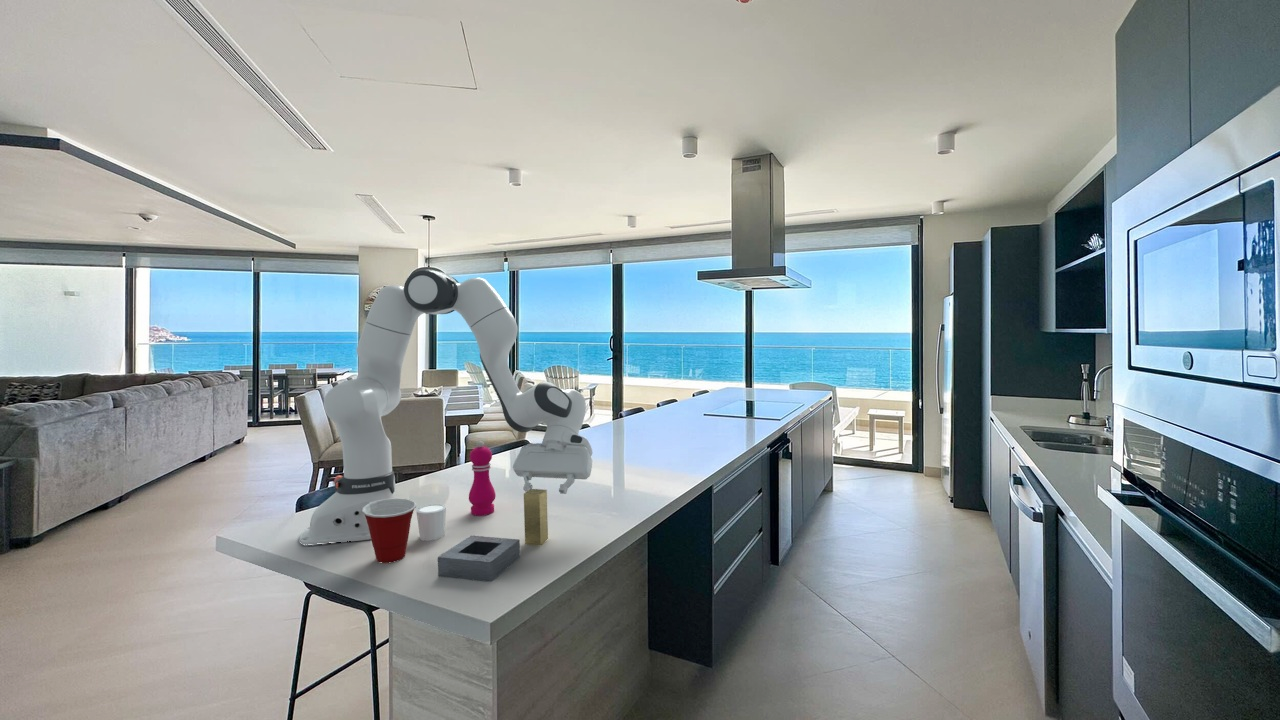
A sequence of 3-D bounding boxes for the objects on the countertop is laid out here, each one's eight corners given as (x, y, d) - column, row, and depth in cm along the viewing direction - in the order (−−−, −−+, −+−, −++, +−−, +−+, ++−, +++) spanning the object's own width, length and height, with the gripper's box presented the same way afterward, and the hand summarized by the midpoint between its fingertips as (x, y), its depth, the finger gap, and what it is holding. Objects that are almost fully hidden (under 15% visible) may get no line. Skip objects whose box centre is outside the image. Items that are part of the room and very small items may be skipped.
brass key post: (525, 544, 122) (523, 493, 121) (532, 538, 126) (531, 488, 125) (540, 545, 121) (539, 494, 120) (548, 539, 125) (546, 489, 124)
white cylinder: (411, 538, 127) (410, 509, 127) (436, 529, 133) (435, 502, 133) (428, 543, 124) (427, 514, 123) (453, 534, 129) (452, 506, 129)
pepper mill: (489, 506, 151) (487, 437, 150) (500, 512, 146) (498, 441, 145) (465, 511, 147) (462, 441, 146) (475, 518, 141) (472, 444, 140)
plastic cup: (382, 573, 108) (380, 515, 108) (353, 562, 114) (351, 507, 113) (428, 554, 117) (426, 501, 117) (399, 545, 123) (397, 494, 123)
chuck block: (438, 576, 106) (437, 557, 106) (471, 553, 117) (471, 535, 117) (491, 582, 103) (490, 562, 103) (520, 557, 114) (519, 539, 114)
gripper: (518, 436, 137) (501, 483, 128) (592, 438, 132) (579, 487, 123) (527, 449, 142) (510, 495, 132) (598, 452, 137) (586, 500, 127)
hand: (544, 491), depth 128 cm, fingers open, 8 cm apart
